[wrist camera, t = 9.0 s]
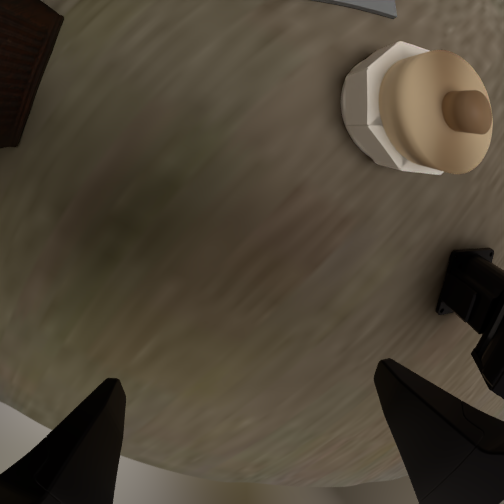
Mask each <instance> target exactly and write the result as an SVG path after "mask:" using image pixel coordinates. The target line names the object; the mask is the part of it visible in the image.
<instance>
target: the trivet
mask: <svg viewBox="0 0 504 504" xmlns="http://www.w3.org/2000/svg"><path fill="white" fill-rule="evenodd" d="M313 1H319V2H325V3H331V4H336V5H341V6H346V7H350V8H355V9H359V10H363V11H367V12H371V13H374V14H378V15H382V16H385V17H388V18H392V19H394V18H396V17H397V12H396V5H395V0H313Z"/></svg>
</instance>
